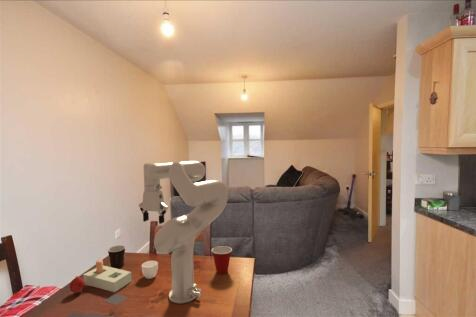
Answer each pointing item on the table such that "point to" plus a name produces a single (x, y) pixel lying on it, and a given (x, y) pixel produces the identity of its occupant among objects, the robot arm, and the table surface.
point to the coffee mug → (117, 256)
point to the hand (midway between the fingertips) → (153, 221)
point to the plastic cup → (221, 258)
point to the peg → (99, 266)
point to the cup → (149, 269)
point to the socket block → (108, 278)
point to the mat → (115, 299)
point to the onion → (77, 285)
